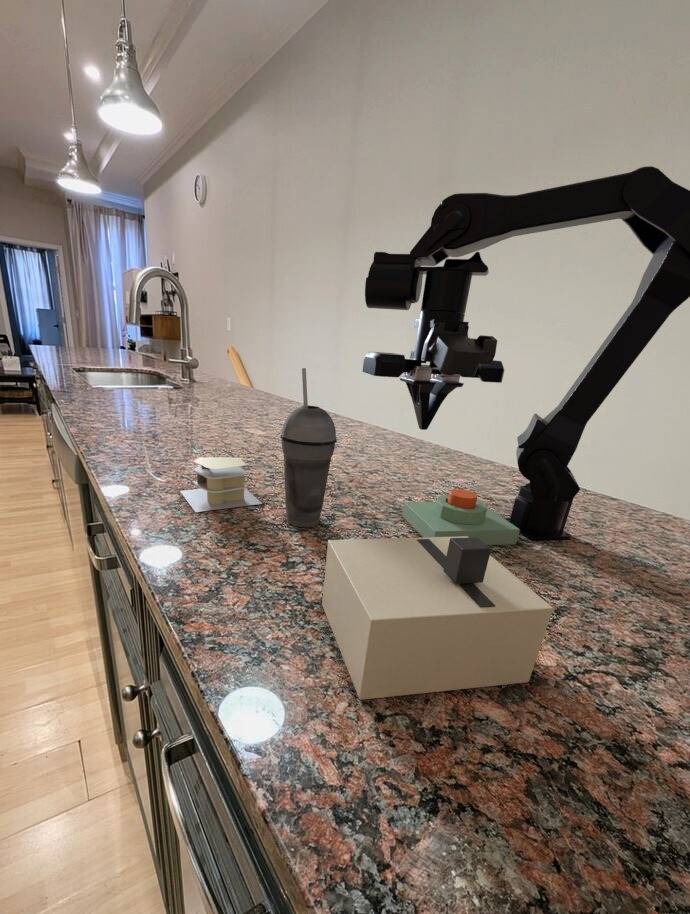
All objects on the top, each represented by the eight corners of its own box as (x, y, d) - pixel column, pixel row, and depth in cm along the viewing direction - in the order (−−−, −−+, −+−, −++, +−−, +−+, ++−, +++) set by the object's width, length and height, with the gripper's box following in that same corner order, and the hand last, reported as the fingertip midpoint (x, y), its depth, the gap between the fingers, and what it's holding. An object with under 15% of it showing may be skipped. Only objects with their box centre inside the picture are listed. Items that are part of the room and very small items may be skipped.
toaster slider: (469, 570, 36) (477, 536, 35) (483, 583, 34) (492, 548, 33) (442, 571, 36) (449, 537, 35) (454, 584, 34) (462, 549, 33)
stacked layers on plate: (241, 484, 73) (241, 452, 71) (262, 504, 66) (263, 468, 64) (179, 491, 69) (178, 456, 66) (195, 512, 61) (194, 474, 59)
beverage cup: (324, 535, 58) (339, 373, 50) (270, 527, 59) (276, 368, 51) (332, 514, 64) (346, 369, 56) (283, 507, 65) (291, 364, 58)
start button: (466, 500, 63) (468, 489, 62) (480, 510, 60) (483, 498, 59) (442, 500, 62) (445, 489, 61) (455, 510, 59) (458, 498, 58)
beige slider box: (451, 594, 46) (465, 532, 44) (529, 682, 35) (554, 606, 32) (320, 601, 43) (326, 536, 41) (359, 700, 32) (371, 618, 29)
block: (475, 514, 68) (481, 489, 66) (516, 544, 59) (523, 516, 57) (401, 515, 65) (405, 490, 64) (432, 547, 56) (438, 518, 55)
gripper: (400, 304, 50) (381, 441, 56) (545, 317, 54) (513, 444, 60) (368, 307, 60) (355, 423, 66) (492, 317, 64) (469, 426, 70)
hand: (422, 429), depth 65 cm, fingers closed
